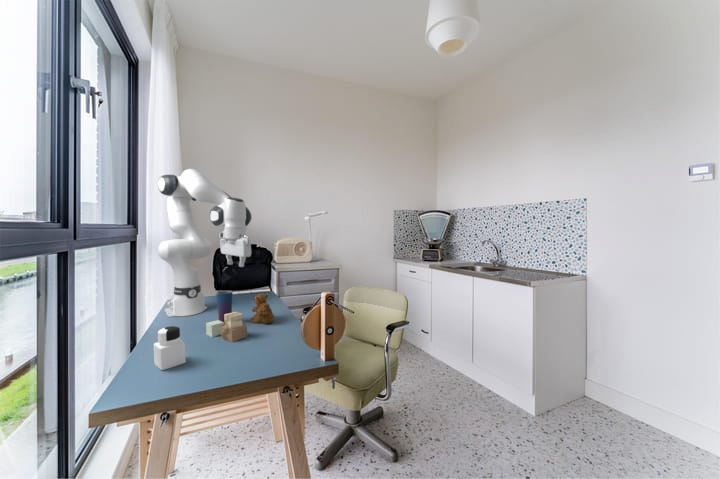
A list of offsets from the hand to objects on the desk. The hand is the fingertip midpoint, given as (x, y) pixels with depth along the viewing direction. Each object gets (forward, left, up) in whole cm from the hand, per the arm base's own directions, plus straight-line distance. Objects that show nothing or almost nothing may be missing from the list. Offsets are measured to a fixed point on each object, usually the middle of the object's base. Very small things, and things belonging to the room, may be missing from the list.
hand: (235, 265), depth 130 cm
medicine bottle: (+15, -32, -28) cm, 45 cm away
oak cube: (+10, -7, -23) cm, 26 cm away
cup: (-9, -1, -28) cm, 30 cm away
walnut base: (+10, -7, -28) cm, 31 cm away
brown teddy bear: (+2, +12, -28) cm, 31 cm away
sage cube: (0, -10, -28) cm, 30 cm away
